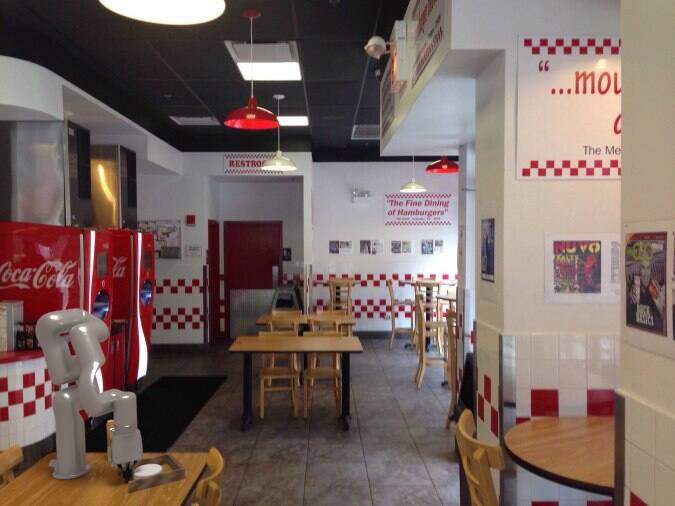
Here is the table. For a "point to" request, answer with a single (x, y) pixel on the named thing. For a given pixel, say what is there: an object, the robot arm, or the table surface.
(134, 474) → the white round tub
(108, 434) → the candy box
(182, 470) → the walnut frame
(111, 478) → the table surface
